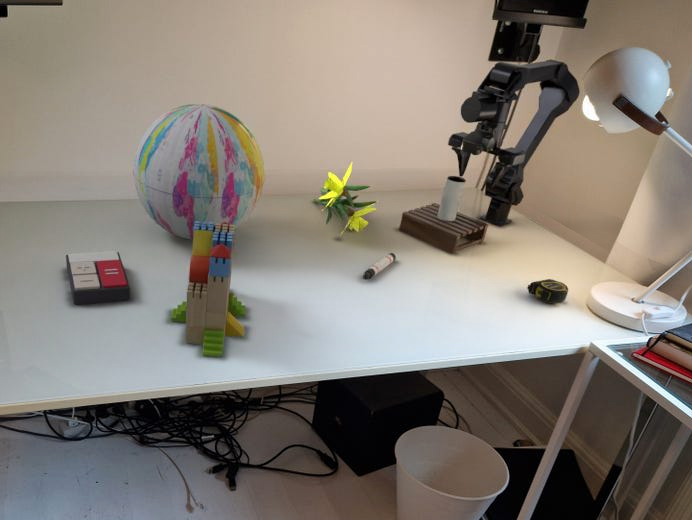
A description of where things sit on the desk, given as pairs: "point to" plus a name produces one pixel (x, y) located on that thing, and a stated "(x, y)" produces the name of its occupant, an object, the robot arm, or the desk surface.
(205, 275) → the block set
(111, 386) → the desk surface
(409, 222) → the rack
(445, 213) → the grey hollow cylinder
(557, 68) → the robot arm
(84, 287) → the calculator
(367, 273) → the marker
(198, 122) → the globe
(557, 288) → the tape measure
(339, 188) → the daffodil flowers
